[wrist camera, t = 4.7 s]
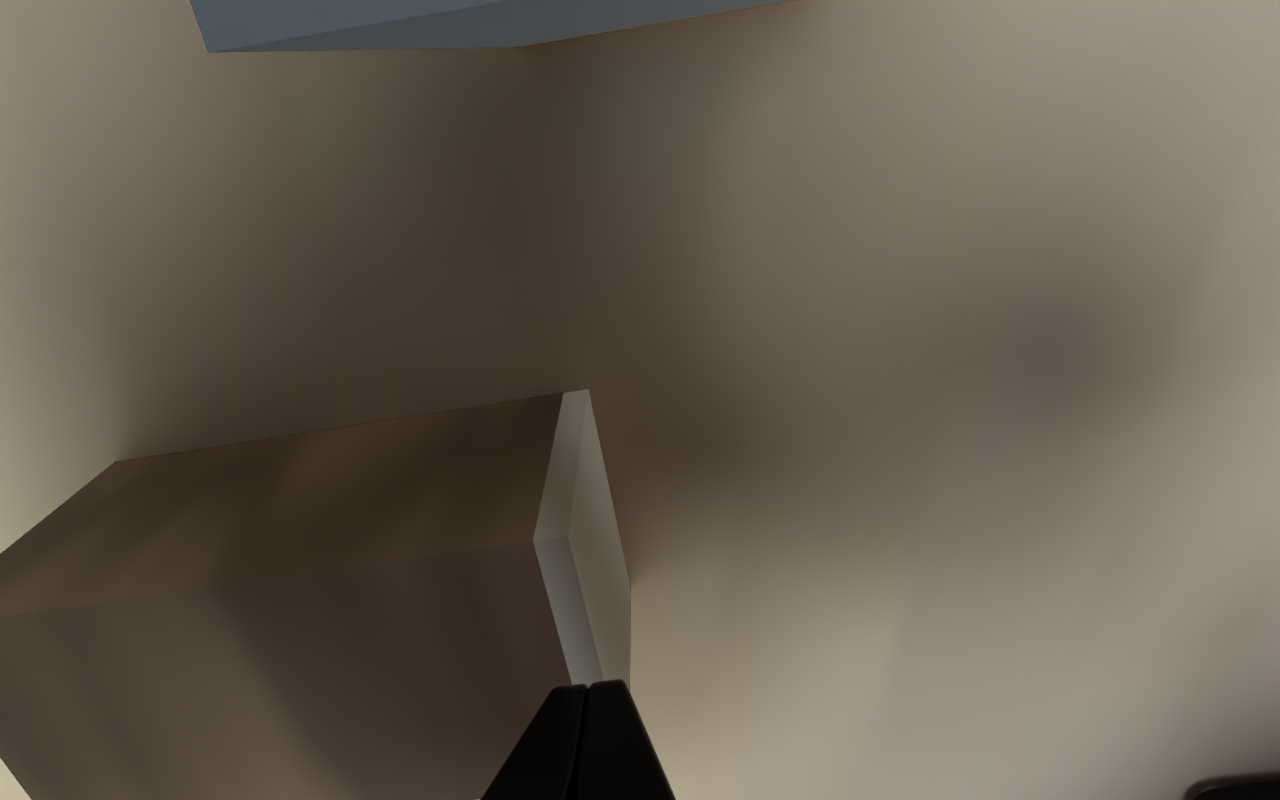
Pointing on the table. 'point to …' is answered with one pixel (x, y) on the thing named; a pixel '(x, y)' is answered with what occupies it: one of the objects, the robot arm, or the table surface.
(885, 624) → the table surface
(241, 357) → the table surface
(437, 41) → the slate block
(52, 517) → the walnut block
